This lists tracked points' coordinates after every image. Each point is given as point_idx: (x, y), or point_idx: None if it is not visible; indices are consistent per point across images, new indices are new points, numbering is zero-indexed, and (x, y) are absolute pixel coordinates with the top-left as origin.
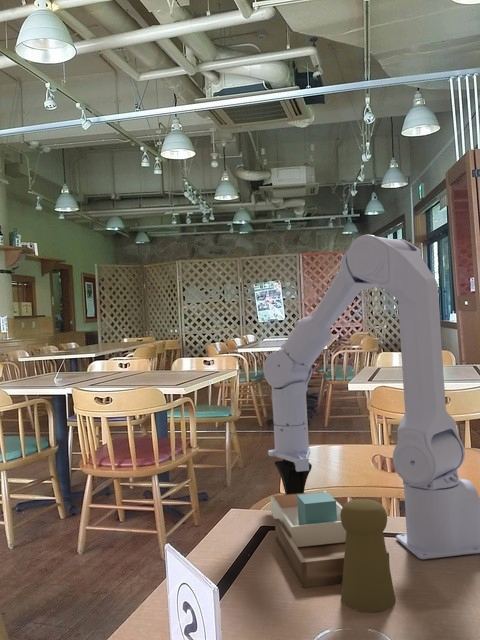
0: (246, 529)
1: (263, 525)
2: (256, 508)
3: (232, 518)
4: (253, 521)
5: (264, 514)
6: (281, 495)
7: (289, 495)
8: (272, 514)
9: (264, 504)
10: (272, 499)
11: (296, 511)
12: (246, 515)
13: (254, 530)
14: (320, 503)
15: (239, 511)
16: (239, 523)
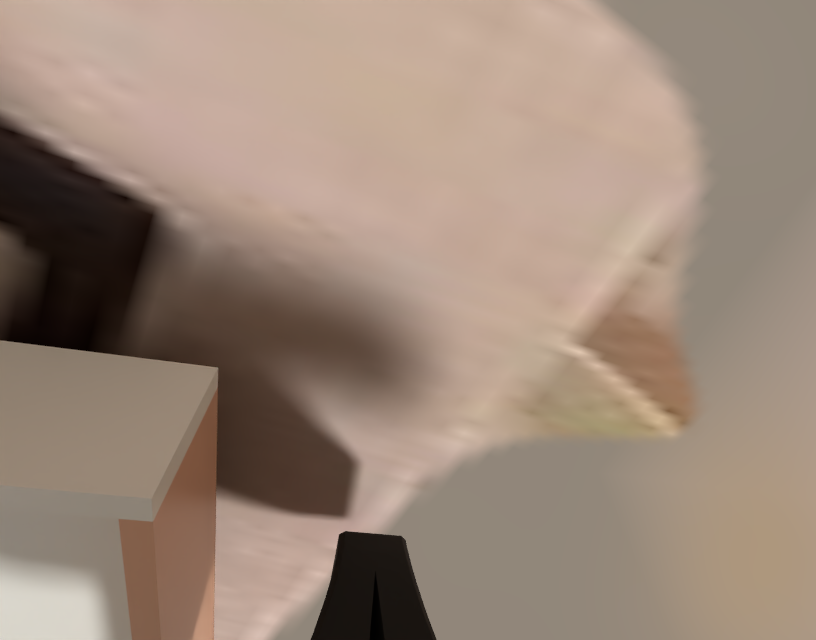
0: (85, 37)
1: (165, 237)
2: (622, 324)
3: (495, 8)
4: (306, 190)
5: (442, 333)
6: (143, 588)
7: (137, 637)
8: (165, 364)
9: (667, 403)
10: (14, 478)
11: (52, 536)
12: (502, 185)
13: (38, 110)
14: None
15: (652, 160)
16: (301, 29)
